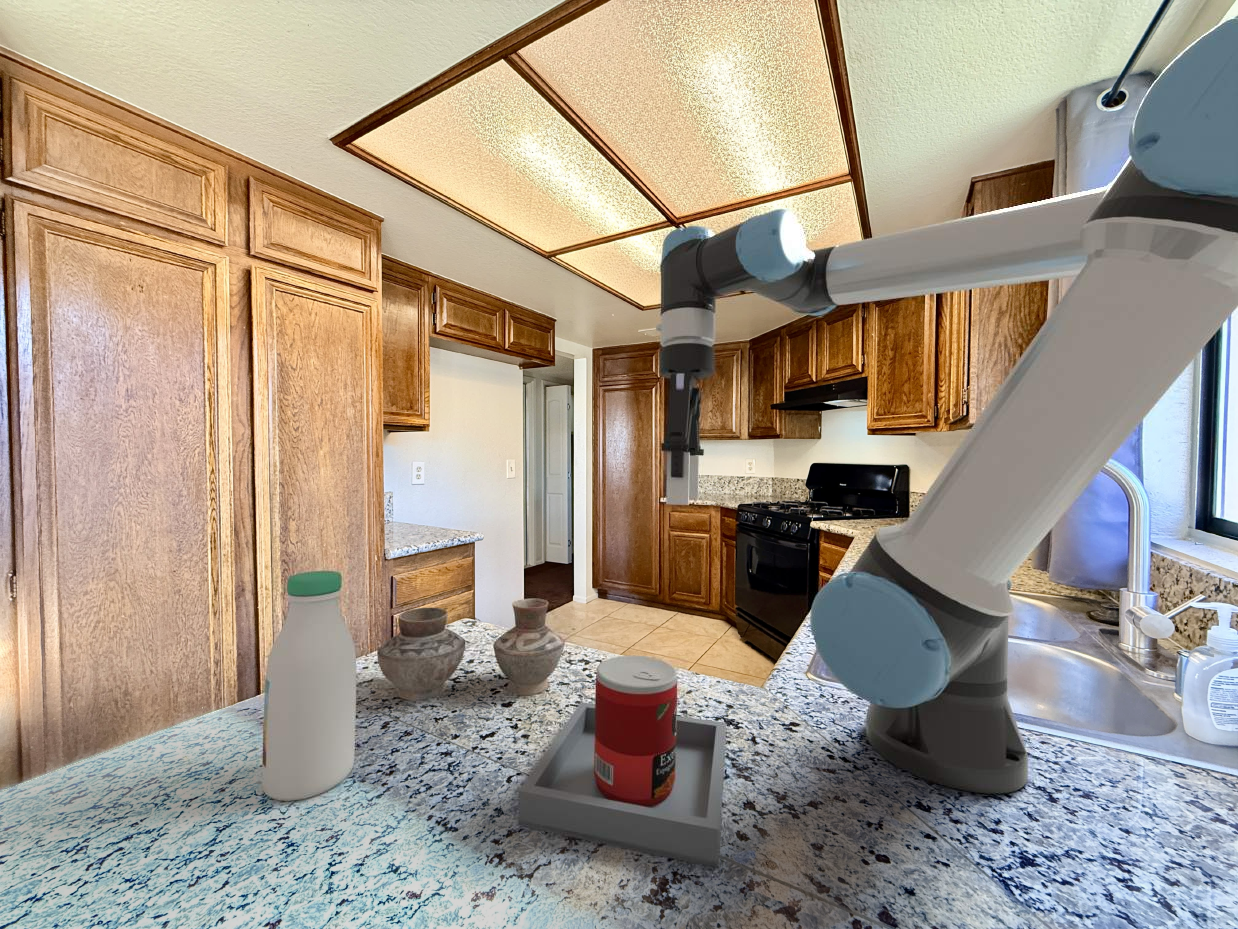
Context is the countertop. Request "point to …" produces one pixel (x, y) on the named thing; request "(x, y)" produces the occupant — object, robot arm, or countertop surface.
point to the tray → (578, 809)
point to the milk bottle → (310, 693)
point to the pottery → (436, 652)
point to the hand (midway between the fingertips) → (683, 501)
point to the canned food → (635, 729)
